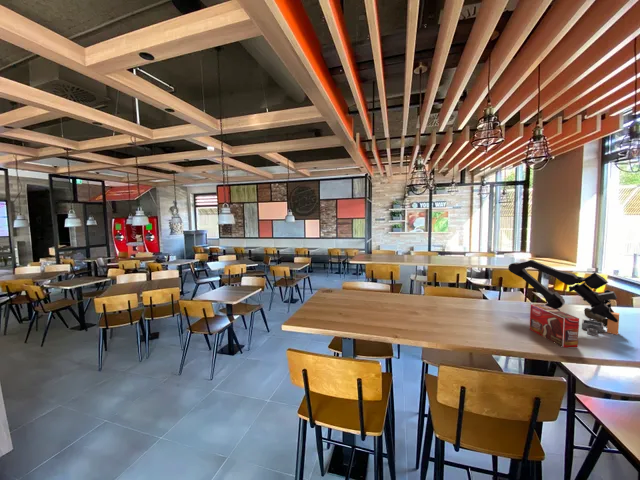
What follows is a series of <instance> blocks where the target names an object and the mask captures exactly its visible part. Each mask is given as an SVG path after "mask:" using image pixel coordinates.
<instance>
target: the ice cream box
mask: <svg viewBox="0 0 640 480" xmlns="http://www.w3.org/2000/svg"><path fill="white" fill-rule="evenodd" d="M529 310H530V312H529V313H530V314H529V330H530V331H532V332H533V333H535V334H537V335H539V336H541V337H543V338H545V339H547V340H548V341H550V342H552V343H554V342H555V343H556V344H555V343H554V344H555V345H557V344H558V346H559V345H560V346H559V347H561V346H562V347H561V348H568V347H578V348H579V345H578V344H579V332H580V331H579V329H580V328H579V327H580V317H576V316H575V315H571V314H569V313H566V312H564V311H561V310H560V309H559V310H560V311H559V310H556V309H554V308H551V307H549V306H546V305H545V304H542V303H541V304H539V303H538V304H534V303H533V304H530V309H529Z"/></svg>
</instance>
